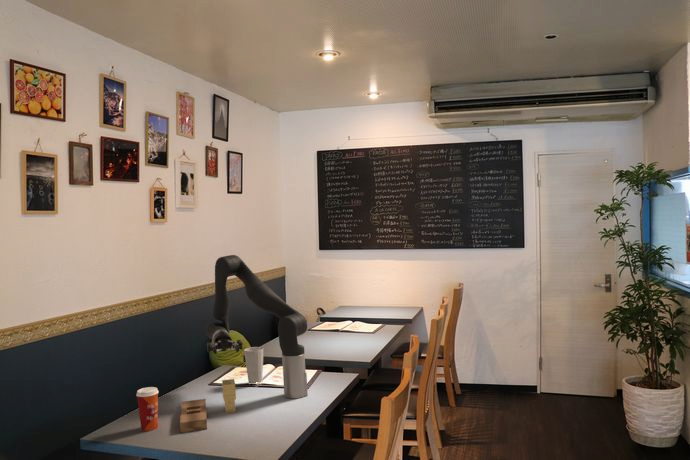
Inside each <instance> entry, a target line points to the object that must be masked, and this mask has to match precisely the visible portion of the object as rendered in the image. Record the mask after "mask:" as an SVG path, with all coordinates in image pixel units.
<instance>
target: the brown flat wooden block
mask: <svg viewBox="0 0 690 460" xmlns="http://www.w3.org/2000/svg"><path fill="white" fill-rule="evenodd" d="M180 407H181V408H180V416H179V417H180V419H179V420H180V421H179V427H180V428H179V429H180V433H187V432H195V431H201V430H202V431H203V430H208V423H207V422H208V421H207V403H206V398H203V399H201V398H200V399H193V400H187V401H186V400H185V401H181V406H180Z"/></svg>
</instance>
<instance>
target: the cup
mask: <svg viewBox="0 0 690 460" xmlns="http://www.w3.org/2000/svg"><path fill="white" fill-rule="evenodd" d="M243 352H244V358H245V365H246V373H247V379H248V381H247V382H248V384H249V383H256V382H261V381H262V382H263V373H264V347H262V346H252V347H250V346H249V347H247V348H244V350H243Z"/></svg>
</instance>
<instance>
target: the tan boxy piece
mask: <svg viewBox="0 0 690 460" xmlns="http://www.w3.org/2000/svg"><path fill="white" fill-rule="evenodd" d="M221 382H222V383H221V386H222V399H223V402H224V410H225V414H232V413H233V414H234V413H236V400H237V394H236V393H237V392H236V381H235V378H231V379H222V380H221Z"/></svg>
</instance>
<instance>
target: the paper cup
mask: <svg viewBox="0 0 690 460" xmlns="http://www.w3.org/2000/svg"><path fill="white" fill-rule="evenodd" d="M159 392H160V391H159V390H158V387H154V386H148V387H142V388H140V389H137V391H136V395H135V396H136V398H137V404H138V405H137V406H138V414H139V422H140V429H141V431H143V432H151V431H154V430H157V429H158V425H159V423H158V422H159V417H158V416H159V397H158V396H159Z"/></svg>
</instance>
